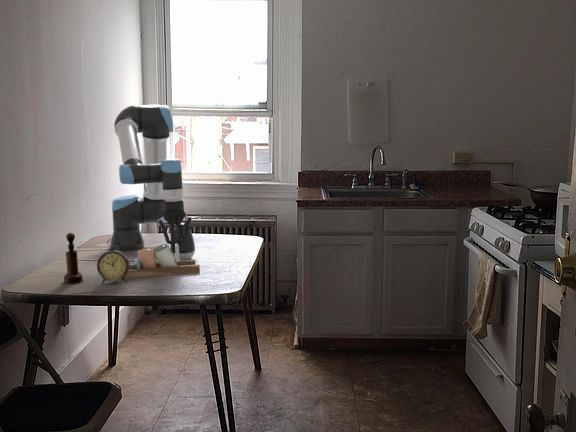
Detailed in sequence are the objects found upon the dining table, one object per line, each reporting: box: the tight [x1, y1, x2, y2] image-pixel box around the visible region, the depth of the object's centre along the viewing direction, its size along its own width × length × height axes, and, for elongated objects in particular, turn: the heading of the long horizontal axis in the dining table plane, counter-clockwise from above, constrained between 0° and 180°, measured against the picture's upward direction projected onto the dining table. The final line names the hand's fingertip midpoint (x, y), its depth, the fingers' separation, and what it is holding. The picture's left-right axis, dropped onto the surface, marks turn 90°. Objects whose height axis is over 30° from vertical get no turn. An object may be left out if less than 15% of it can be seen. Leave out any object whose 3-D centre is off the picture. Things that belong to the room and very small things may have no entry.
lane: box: [124, 259, 201, 280], centre depth 262 cm, size 10×29×3 cm, turn 108°
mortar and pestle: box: [63, 232, 84, 284], centre depth 249 cm, size 7×6×18 cm
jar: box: [154, 243, 177, 267], centre depth 261 cm, size 6×6×10 cm
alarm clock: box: [96, 238, 130, 285], centre depth 247 cm, size 11×5×16 cm, turn 95°
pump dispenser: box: [169, 222, 196, 261], centre depth 284 cm, size 10×10×15 cm
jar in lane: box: [136, 247, 157, 269], centre depth 260 cm, size 6×6×9 cm
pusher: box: [129, 257, 140, 270], centre depth 258 cm, size 7×7×5 cm
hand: (177, 261), depth 263 cm, fingers closed
